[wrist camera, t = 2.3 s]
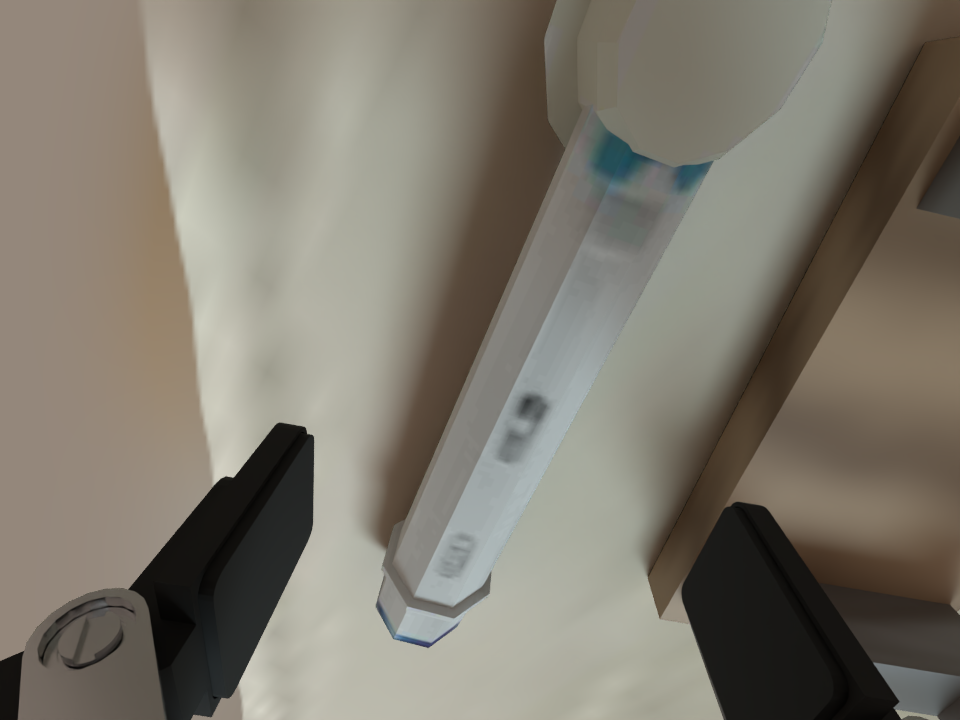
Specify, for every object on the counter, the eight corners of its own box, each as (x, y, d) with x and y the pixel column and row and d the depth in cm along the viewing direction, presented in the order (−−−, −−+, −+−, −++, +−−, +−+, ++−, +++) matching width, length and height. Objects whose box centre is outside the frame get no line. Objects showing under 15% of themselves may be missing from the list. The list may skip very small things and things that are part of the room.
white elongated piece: (347, 636, 19) (706, -425, 5) (389, 501, 24) (613, -179, 10) (469, 666, 20) (1135, -196, 5) (483, 528, 25) (827, -81, 11)
